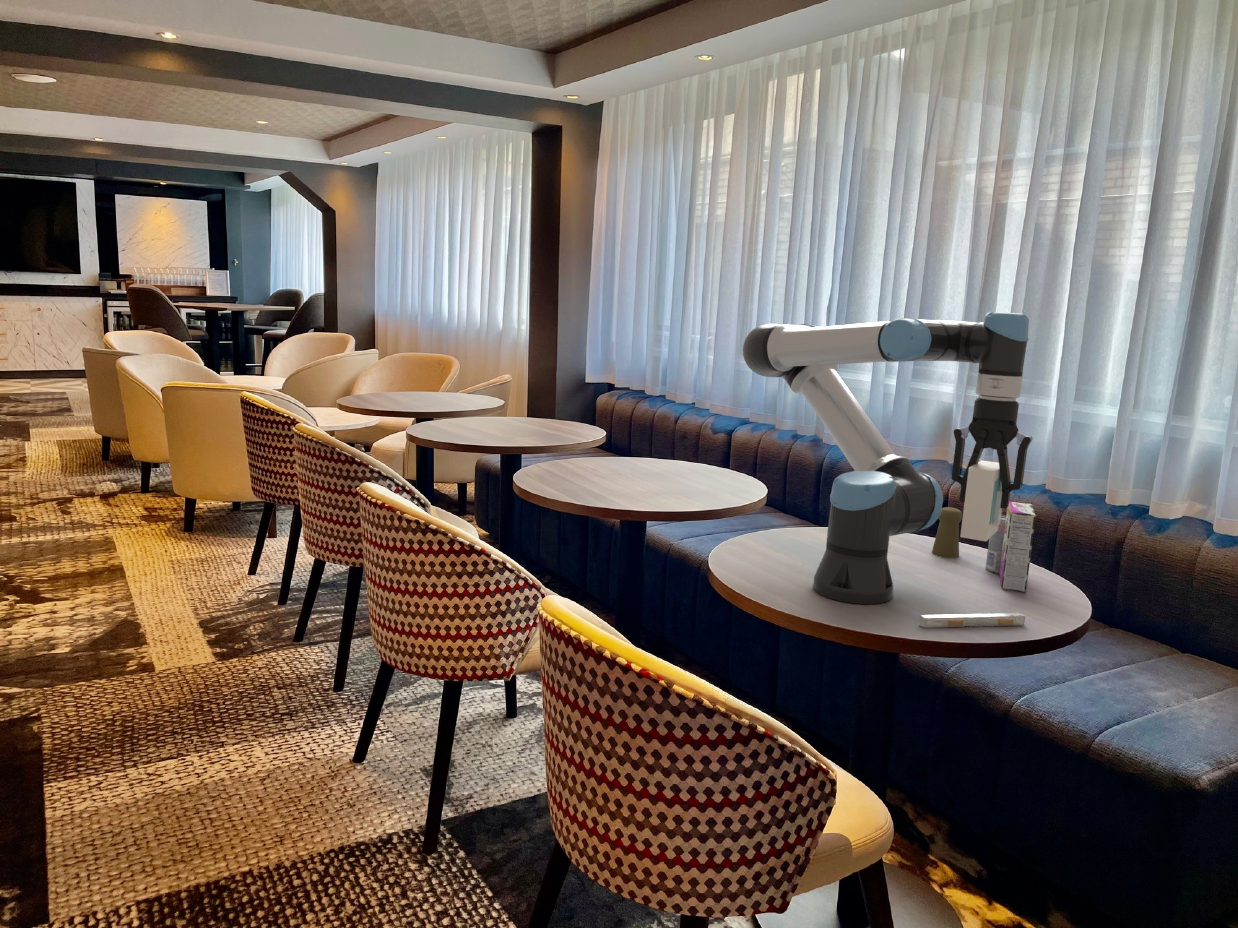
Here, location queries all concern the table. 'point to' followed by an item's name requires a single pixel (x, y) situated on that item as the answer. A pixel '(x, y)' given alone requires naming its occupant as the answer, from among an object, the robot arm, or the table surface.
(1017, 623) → the rail
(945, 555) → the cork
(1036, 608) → the table surface
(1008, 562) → the candy bar box
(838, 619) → the table surface
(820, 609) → the table surface
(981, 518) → the carton box
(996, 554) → the energy drink
